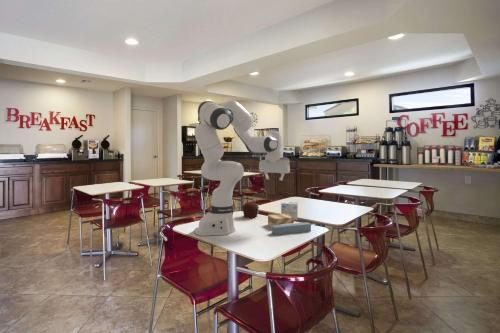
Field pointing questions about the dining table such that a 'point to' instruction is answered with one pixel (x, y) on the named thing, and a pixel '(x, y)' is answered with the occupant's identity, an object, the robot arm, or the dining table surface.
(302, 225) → the blue-grey bar
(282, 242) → the dining table surface
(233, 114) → the robot arm
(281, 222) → the oak block
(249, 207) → the muffin
